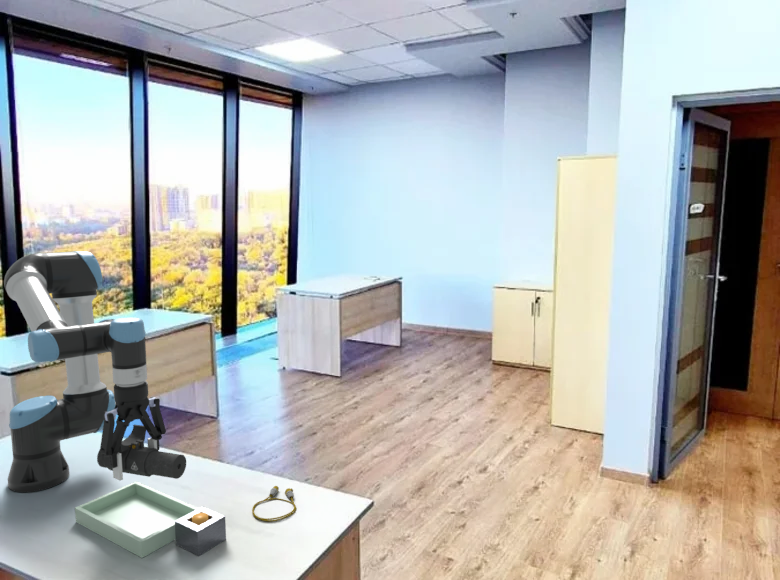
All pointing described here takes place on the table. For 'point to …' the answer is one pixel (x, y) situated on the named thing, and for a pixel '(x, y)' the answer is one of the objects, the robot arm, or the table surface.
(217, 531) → the grey square holder
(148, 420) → the robot arm
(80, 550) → the table surface
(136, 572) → the table surface
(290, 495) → the extension cord
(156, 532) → the tray
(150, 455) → the laser sight
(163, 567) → the table surface
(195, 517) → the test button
